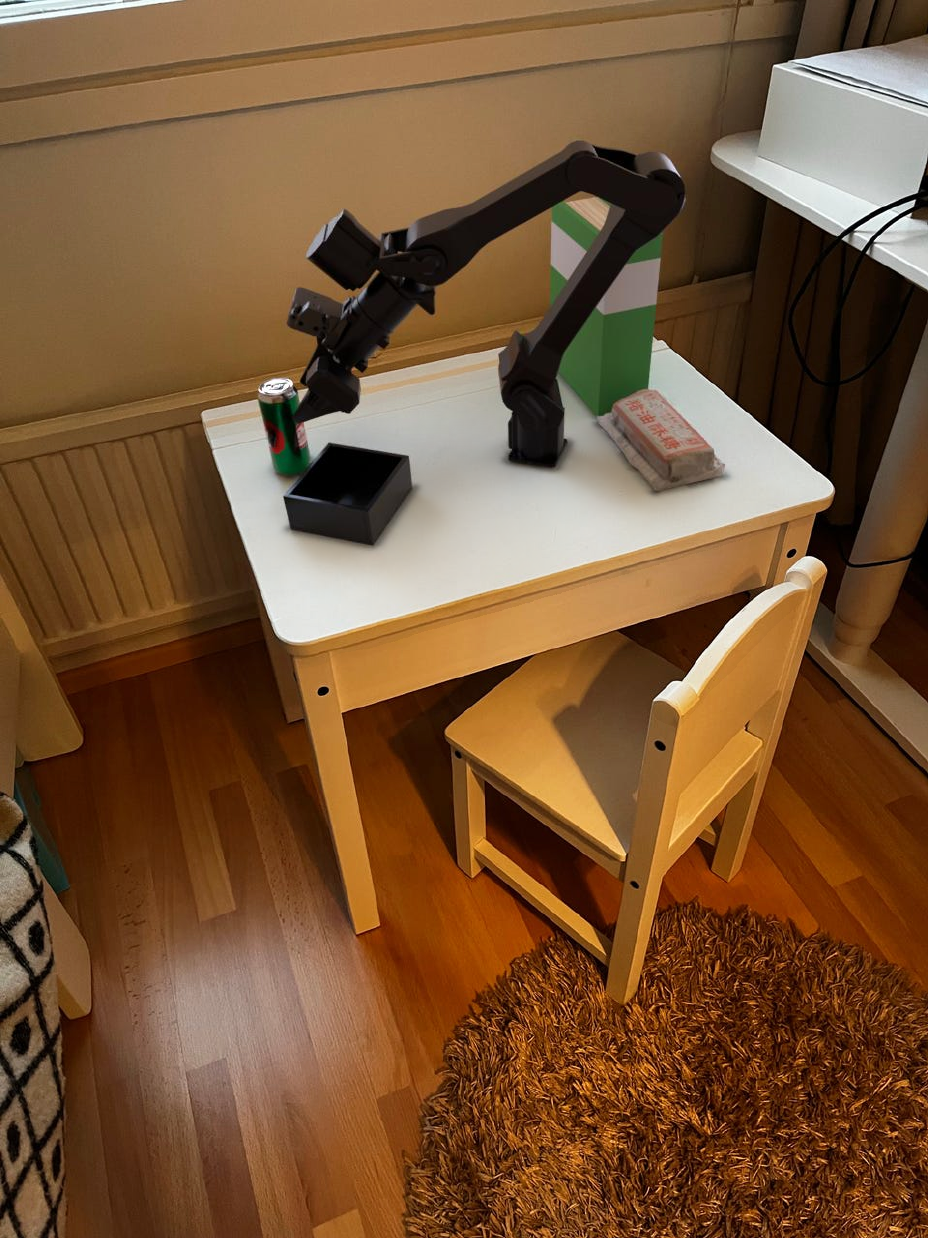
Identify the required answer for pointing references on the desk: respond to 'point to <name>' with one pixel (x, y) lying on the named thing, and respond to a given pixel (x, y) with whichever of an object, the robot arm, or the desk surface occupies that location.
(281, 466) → the soda can
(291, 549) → the desk surface
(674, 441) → the packaged product
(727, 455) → the desk surface
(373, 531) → the open black square box
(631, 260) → the hardback book
